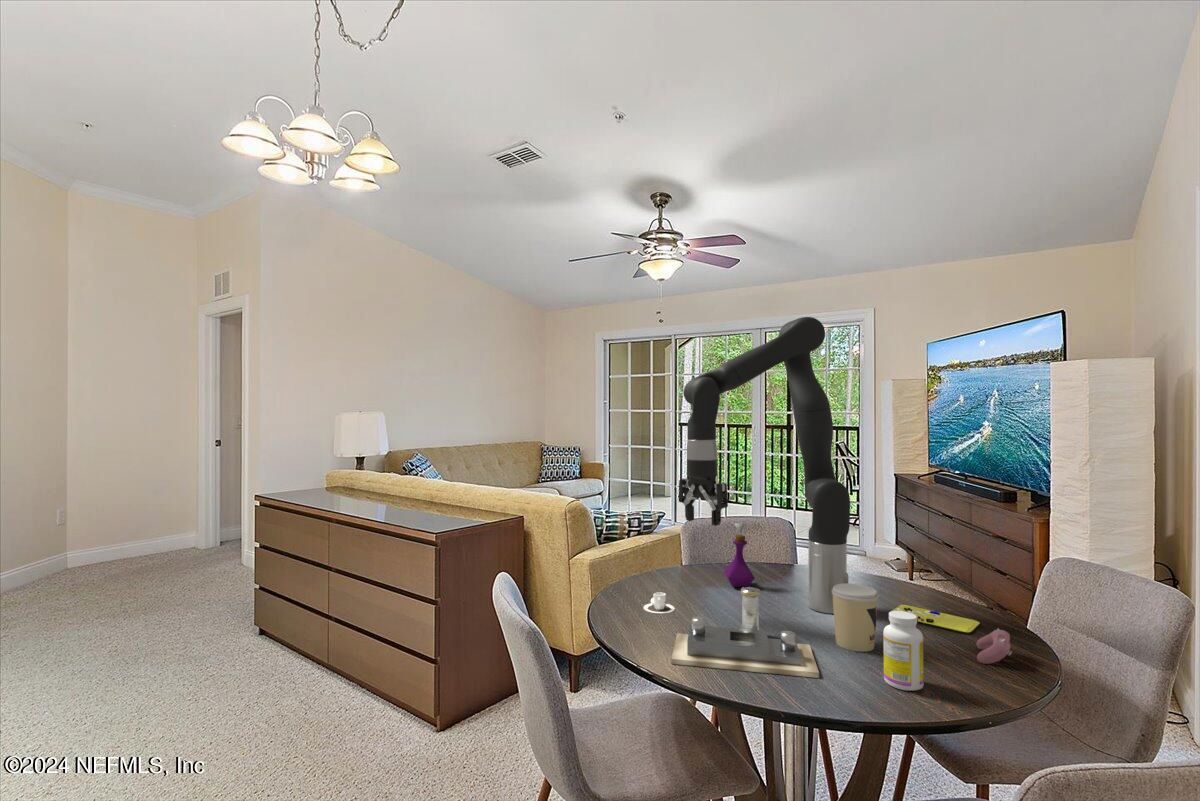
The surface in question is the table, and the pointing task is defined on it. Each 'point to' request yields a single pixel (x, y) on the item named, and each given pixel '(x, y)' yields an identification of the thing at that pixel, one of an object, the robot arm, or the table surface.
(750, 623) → the pin
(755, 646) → the knobbed grey block
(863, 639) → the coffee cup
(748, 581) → the perfume bottle
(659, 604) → the teacup and saucer
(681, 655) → the birch board
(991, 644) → the video game controller
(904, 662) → the supplement bottle
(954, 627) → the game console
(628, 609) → the table surface
